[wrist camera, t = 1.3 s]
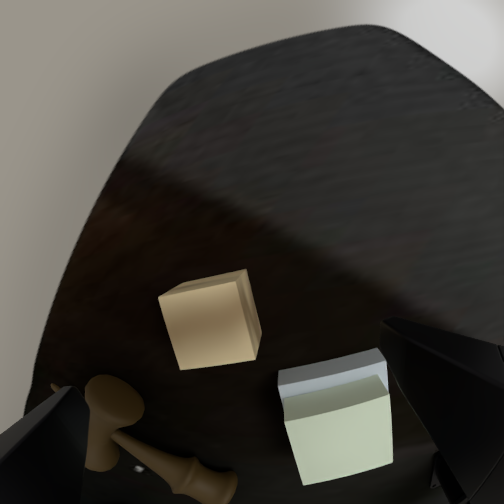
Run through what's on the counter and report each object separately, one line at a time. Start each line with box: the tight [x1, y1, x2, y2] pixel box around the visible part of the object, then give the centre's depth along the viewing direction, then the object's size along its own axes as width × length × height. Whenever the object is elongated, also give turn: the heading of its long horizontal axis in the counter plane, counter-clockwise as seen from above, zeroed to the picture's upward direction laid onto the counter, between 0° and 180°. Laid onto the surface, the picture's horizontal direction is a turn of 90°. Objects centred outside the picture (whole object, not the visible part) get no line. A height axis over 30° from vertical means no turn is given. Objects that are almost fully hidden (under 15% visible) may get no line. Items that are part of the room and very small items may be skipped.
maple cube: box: [158, 269, 262, 370], centre depth 21 cm, size 5×5×5 cm
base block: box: [278, 348, 388, 409], centre depth 22 cm, size 8×8×3 cm
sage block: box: [284, 374, 393, 485], centre depth 19 cm, size 7×7×3 cm
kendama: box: [51, 375, 238, 504], centre depth 23 cm, size 6×10×20 cm
